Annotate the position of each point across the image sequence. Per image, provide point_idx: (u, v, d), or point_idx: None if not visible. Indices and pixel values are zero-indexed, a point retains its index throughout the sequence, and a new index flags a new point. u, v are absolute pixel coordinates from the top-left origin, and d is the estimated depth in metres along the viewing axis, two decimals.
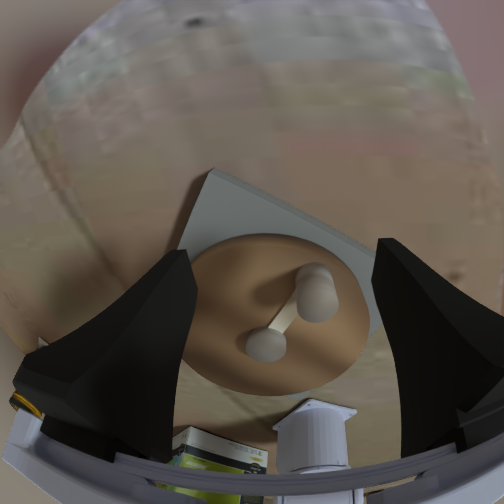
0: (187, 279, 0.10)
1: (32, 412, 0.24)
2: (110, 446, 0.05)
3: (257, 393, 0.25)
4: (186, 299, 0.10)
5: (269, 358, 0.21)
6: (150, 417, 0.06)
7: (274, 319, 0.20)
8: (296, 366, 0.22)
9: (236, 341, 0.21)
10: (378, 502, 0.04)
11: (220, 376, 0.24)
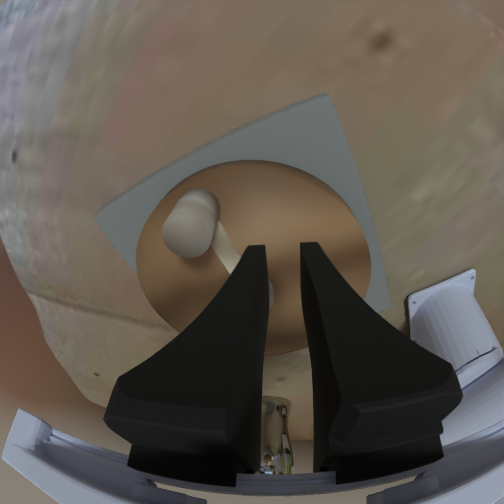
0: (266, 276, 0.10)
1: None
2: (235, 469, 0.04)
3: None
4: (266, 297, 0.10)
5: None
6: (255, 427, 0.06)
7: (225, 267, 0.18)
8: None
9: None
10: (378, 502, 0.04)
11: (272, 345, 0.22)
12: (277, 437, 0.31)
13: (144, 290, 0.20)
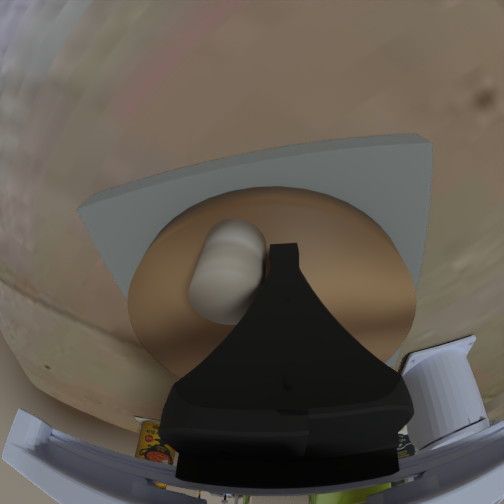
0: None
1: None
2: (292, 470, 0.04)
3: None
4: None
5: None
6: None
7: None
8: None
9: None
10: (377, 502, 0.04)
11: None
12: None
13: (133, 324, 0.15)
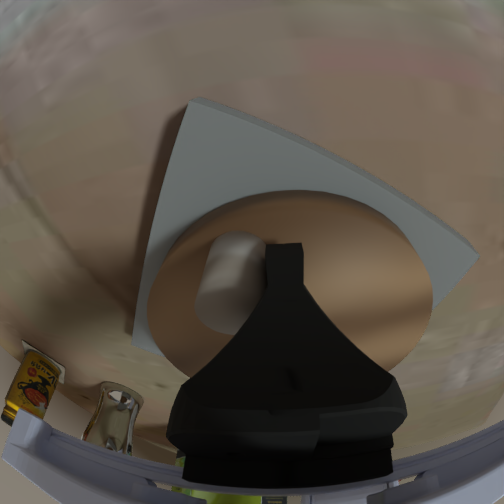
0: None
1: None
2: (300, 469, 0.04)
3: None
4: None
5: None
6: None
7: None
8: (363, 342, 0.14)
9: None
10: (378, 502, 0.04)
11: None
12: (125, 438, 0.25)
13: (157, 342, 0.15)
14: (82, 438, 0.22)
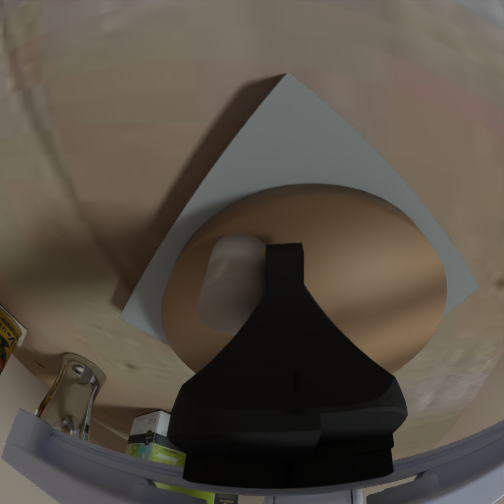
0: None
1: None
2: (300, 469, 0.04)
3: None
4: None
5: None
6: None
7: None
8: (381, 331, 0.14)
9: None
10: (378, 502, 0.04)
11: None
12: (84, 417, 0.22)
13: (176, 351, 0.16)
14: (38, 411, 0.19)
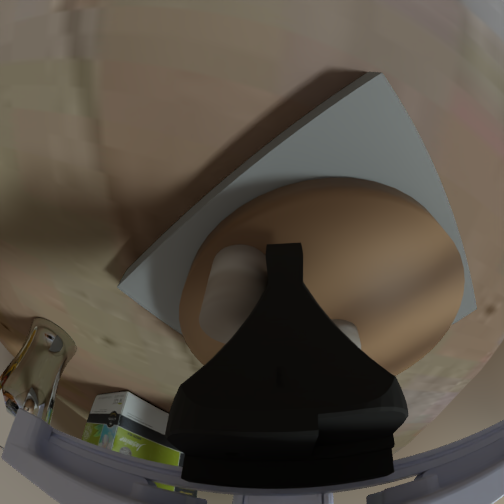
0: None
1: None
2: (299, 469, 0.04)
3: (417, 358, 0.16)
4: None
5: None
6: None
7: None
8: (402, 317, 0.13)
9: None
10: (378, 502, 0.04)
11: None
12: (51, 391, 0.19)
13: None
14: (2, 379, 0.15)
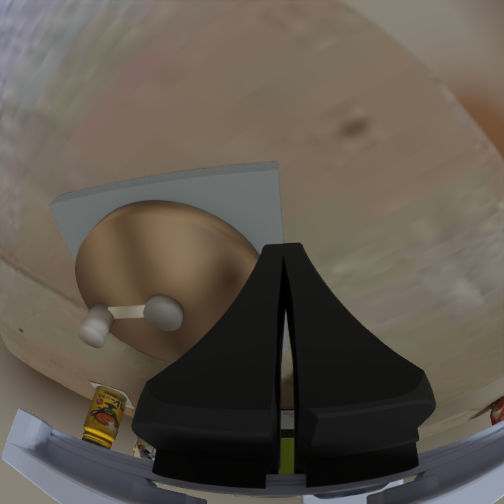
0: None
1: (99, 444, 0.32)
2: (266, 470, 0.04)
3: (247, 267, 0.18)
4: (284, 296, 0.10)
5: (166, 310, 0.19)
6: (279, 427, 0.06)
7: (143, 317, 0.21)
8: (163, 268, 0.18)
9: (190, 323, 0.21)
10: (378, 502, 0.04)
11: None
12: None
13: (174, 361, 0.25)
14: None
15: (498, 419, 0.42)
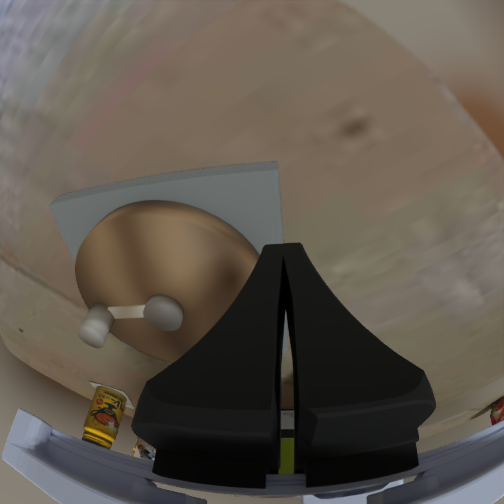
0: None
1: (99, 444, 0.32)
2: (266, 470, 0.04)
3: (247, 267, 0.18)
4: (284, 296, 0.10)
5: (166, 310, 0.19)
6: (279, 427, 0.06)
7: (143, 317, 0.21)
8: (163, 268, 0.18)
9: (190, 323, 0.21)
10: (378, 502, 0.04)
11: None
12: None
13: (174, 361, 0.25)
14: None
15: (498, 419, 0.42)
